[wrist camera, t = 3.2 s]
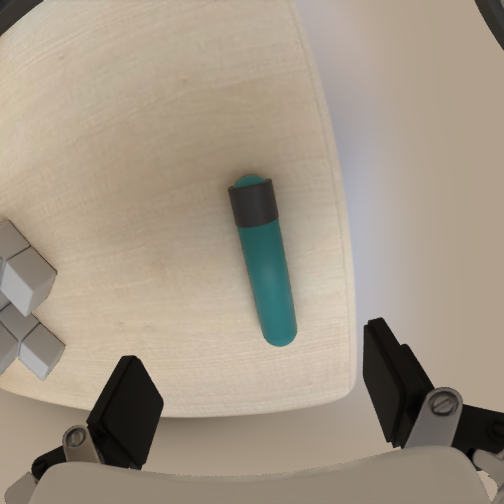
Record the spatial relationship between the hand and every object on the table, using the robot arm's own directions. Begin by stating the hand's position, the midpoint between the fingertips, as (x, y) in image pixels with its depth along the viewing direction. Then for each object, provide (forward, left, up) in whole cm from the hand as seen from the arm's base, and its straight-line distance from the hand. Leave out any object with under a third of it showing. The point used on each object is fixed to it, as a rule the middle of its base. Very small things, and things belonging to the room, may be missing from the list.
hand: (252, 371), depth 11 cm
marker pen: (0, 0, -10) cm, 10 cm away
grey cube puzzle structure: (+23, +5, -11) cm, 26 cm away
